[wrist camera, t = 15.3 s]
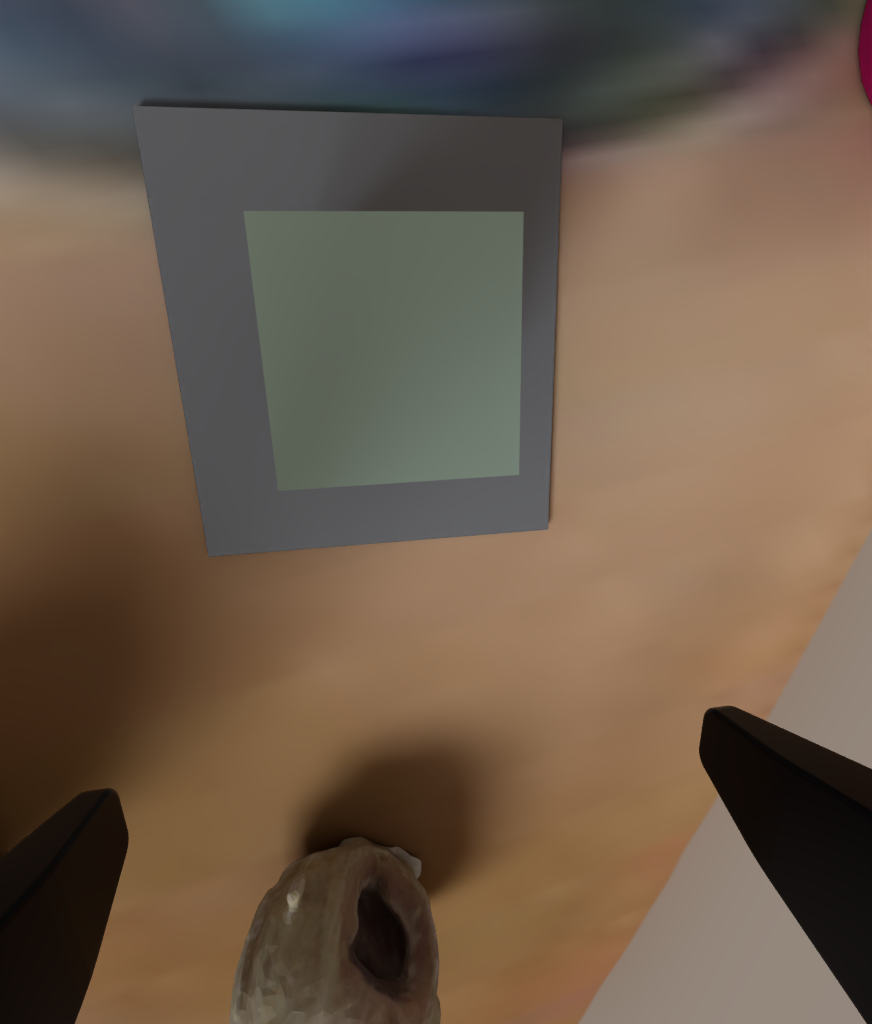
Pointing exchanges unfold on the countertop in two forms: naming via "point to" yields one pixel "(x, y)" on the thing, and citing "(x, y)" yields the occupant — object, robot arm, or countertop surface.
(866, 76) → the pepper mill
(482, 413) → the sage block
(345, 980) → the grey rough rounded lump
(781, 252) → the countertop surface
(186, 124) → the gray mat
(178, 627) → the countertop surface
